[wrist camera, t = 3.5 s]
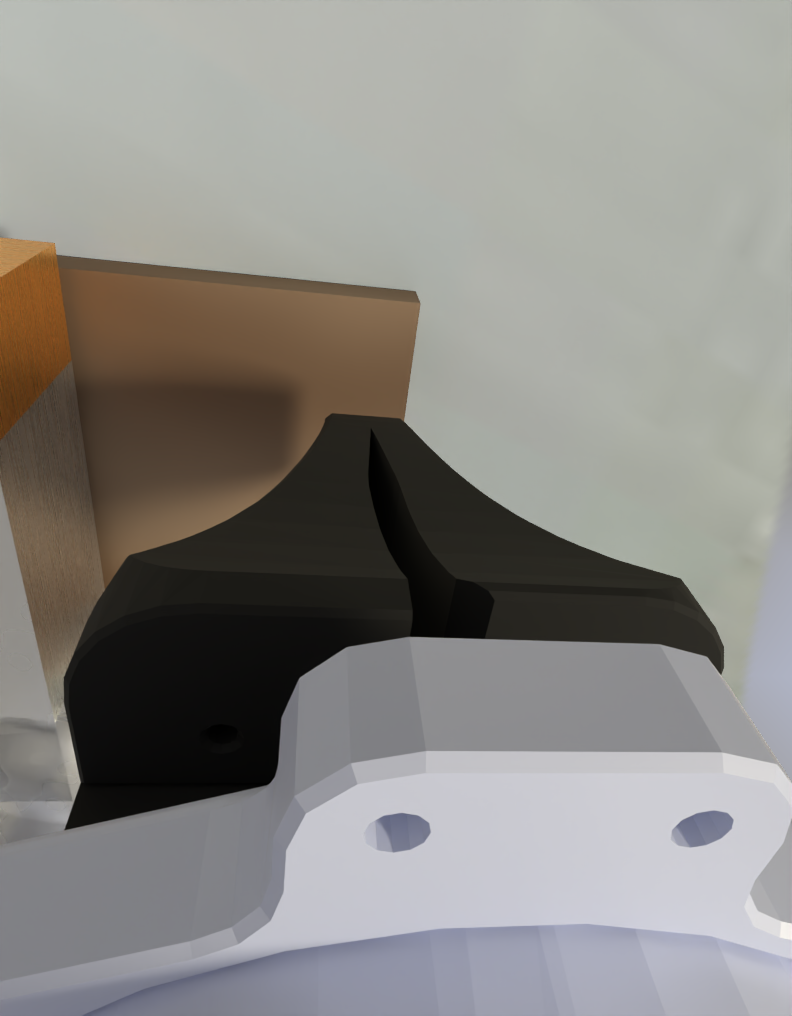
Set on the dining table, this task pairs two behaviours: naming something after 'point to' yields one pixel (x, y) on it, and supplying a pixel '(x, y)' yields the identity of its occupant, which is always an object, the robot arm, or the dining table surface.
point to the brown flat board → (216, 386)
